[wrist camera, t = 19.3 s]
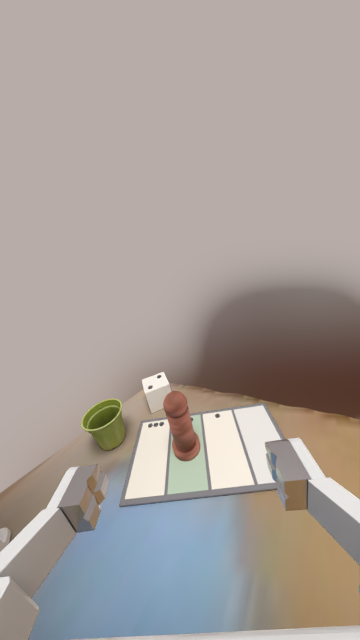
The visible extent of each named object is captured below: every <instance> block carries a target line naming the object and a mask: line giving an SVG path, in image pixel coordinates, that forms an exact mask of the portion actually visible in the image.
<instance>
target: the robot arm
mask: <svg viewBox="0 0 360 640" xmlns="http://www.w3.org/2000/svg"><path fill="white" fill-rule="evenodd" d="M265 448H266V451H267V453H266V460H267V464H268V468H269V471H270V474H271V476H272V479H273V480H274V481H275V482H276V483H277V490H278V494H279V496H280V498H281V501H282V503H283V506H284V508H285V511H292V510H307V509H308V512H309V513H310V514H311V515H312V516H313V517H314V518H315V519H316V520H317V521H318V522H319V523H320V524H321V526H322V527H323V528H324V529H325V530H326V531H327V532H328V533H329V534H330V535H331V536H332V537H333V538H334V539H335V540H336V541H337V542H338V543H339V544H340V545H341V547H342V548H343V549H344V550H345V551H346V552H347V553H348V554H349V555H350V556H351V557H352V558H353V559H354V560H355V561H356V562H357V563H358V564H359V565H360V499H358V498H357V497H356V496H354V495H353V494H352V493H350V492H349V491H348V490H346V489H345V488H343V487H342V486H341V485H339V484H338V483H337V482H335V481H334V480H333V479H331V478H326V477H325V475H324V474H323V472H322V471H321V469H320V468H319V466H318V465H317V463H316V462H315V460H314V459H313V457H312V455H311V454H310V452H309V451H308V449H307V448H306V446H305V445H304V443H303V442H302V440H301V439H300V438H292V439H282V440H276V441H269V442H265ZM102 469H103V468H102V466H101V464H96V465H88V466H78V467H70V468H69V469H68V470H67V472H66V473H65V475H64V477H63V479H62V480H61V482H60V484H59V486H58V488H57V490H56V491H55V493H54V495H53V497H52V499H51V500H50V502H49V504H48V506H47V508H46V509H44V510H42V511H41V512H40V513H39V514H38V515H37V516H36V517H35V518H34V519H33V520H32V521H31V522H30V523H29V524H28V525H27V526H26V527H25V528H24V529H23V530H22V531H21V532H20V533H19V534H18V535H17V536H16V537H15V538H14V539H13V540H12V541H11V542H10V543H9V541H10V536H11V530H10V529H8V528H7V527H4V528H1V529H0V640H28V639H29V636H30V634H31V631H32V629H33V626H34V624H35V621H36V619H37V616H38V614H39V606H38V605H37V604H36V603H35V602H34V601H33V600H32V599H31V598H32V597H33V595H34V594H35V593H36V591H37V590H38V588H39V587H40V585H41V584H42V583H43V581H44V580H45V578H46V577H47V575H48V574H49V573H50V571H51V570H52V568H53V567H54V565H55V564H56V563H57V561H58V560H59V558H60V557H61V555H62V554H63V553H64V551H65V550H66V548H67V547H68V545H69V544H70V542H71V541H72V540H73V538H74V537H75V535H76V533H77V532H84V531H91V530H95V527H96V524H97V521H98V517H99V514H100V511H101V509H100V504H101V502H102V501H103V500H104V499H105V496H106V493H107V488H108V479H107V476H106V474H104V473H103V472H102ZM359 593H360V586H359ZM71 640H360V625H355V626H334V627H314V628H294V629H274V630H253V631H233V632H213V633H193V634H173V635H152V636H132V637H112V638H92V639H71Z"/></svg>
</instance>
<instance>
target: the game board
mask: <svg viewBox="0 0 360 640" xmlns="http://www.w3.org/2000/svg"><path fill="white" fill-rule="evenodd" d="M190 417H191V422H192V426H193V430H194V432H195V433H196V434H197V435H198V437H199V441H200V451H199V454H198V455H197V456H196V457H195V458H194V459H193V460H191V461H186V462H185V461H181V460H179V459H177V458H176V456H175V454H174V451H173V448H172V441H173V436H172V433H171V429H170V426H169V423H168V419H167V417H166V418H159V419H152V420H145V421H141V423H140V427H139V431H138V435H137V439H136V443H135V446H134V450H133V454H132V458H131V462H130V466H129V470H128V473H127V477H126V481H125V485H124V489H123V493H122V497H121V501H120V504H119V506H120V507H125V506H134V505H143V504H152V503H162V502H171V501H180V500H189V499H198V498H207V497H216V496H225V495H234V494H243V493H252V492H261V491H270V490H277V483H276V482H275V481H274V480H273V479H272V476H271V474H270V471H269V468H268V464H267V460H266V453H267V451H266V448H265V442H269V441H276V440H282V439H285V438H284V436H283V434H282V433H281V431H280V429H279V427H278V426H277V424H276V422H275V420H274V418H273V417H272V415H271V413H270V411H269V410H268V408H267V406H266V404H265V403H260V404H253V405H247V406H240V407H233V408H226V409H220V410H213V411H206V412H199V413H193V414H190Z"/></svg>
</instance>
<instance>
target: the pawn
mask: <svg viewBox="0 0 360 640" xmlns="http://www.w3.org/2000/svg"><path fill="white" fill-rule="evenodd" d="M163 407H164V410H165V412H166V416H167V419H168V423H169V426H170V429H171V433H172V436H173V441H172V448H173V451H174V454H175V456H176V458H177V459H179V460H181V461H185V462H186V461H191V460H193V459H194V458H195V457H196V456H197V455H198V454H199V451H200V441H199V437H198V435H197V434H196V433H195V432H194V430H193V426H192V422H191V417H190V413H189V409H188V406H187V399H186V397H185V396H184V395H183V394H182V393H181V392H178V391H172V392H170V393H168V394H167V395H166V397H165V399H164V402H163Z"/></svg>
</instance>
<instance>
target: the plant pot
mask: <svg viewBox="0 0 360 640" xmlns="http://www.w3.org/2000/svg"><path fill="white" fill-rule="evenodd" d="M121 413H122V403H121V401H120V400H118V399H107V400H104V401H101V402H99V403H98V404H96V405H94V406H93V407H92V408H90V409H89V410H88V411H87V413H86V414H85V415H84V417H83V419H82V421H81V426H82V428H83V429H84V430H85V431H88V432H89V433H91V434H92V436H93V437H94V438H95V440H96V441H97V442H98V444H99V445H100V446H101V447H102V449H104V450H111V449H113V448H115V447H117V446H119V445H120V444H121V443H122V441H123V440H124V438H125V429H124V424H123V420H122V415H121Z"/></svg>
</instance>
